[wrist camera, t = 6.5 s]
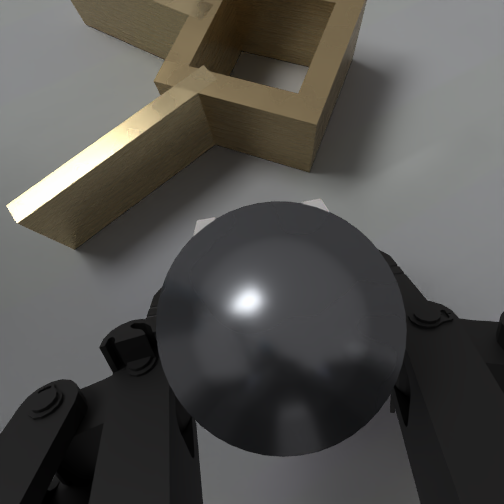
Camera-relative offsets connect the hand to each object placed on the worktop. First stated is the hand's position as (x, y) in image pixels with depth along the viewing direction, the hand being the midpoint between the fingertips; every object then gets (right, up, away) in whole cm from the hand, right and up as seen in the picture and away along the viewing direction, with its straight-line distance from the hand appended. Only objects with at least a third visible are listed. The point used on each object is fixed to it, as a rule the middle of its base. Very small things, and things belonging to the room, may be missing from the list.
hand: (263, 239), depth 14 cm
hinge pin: (+1, -5, +2) cm, 5 cm away
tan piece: (-6, +7, +8) cm, 12 cm away
